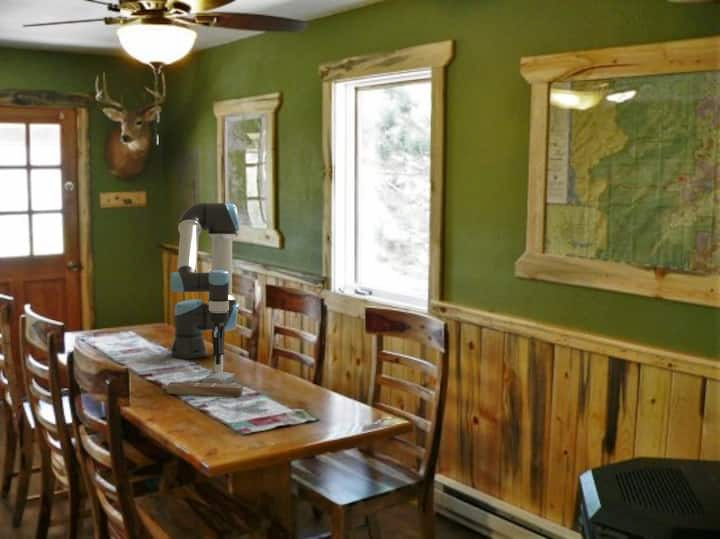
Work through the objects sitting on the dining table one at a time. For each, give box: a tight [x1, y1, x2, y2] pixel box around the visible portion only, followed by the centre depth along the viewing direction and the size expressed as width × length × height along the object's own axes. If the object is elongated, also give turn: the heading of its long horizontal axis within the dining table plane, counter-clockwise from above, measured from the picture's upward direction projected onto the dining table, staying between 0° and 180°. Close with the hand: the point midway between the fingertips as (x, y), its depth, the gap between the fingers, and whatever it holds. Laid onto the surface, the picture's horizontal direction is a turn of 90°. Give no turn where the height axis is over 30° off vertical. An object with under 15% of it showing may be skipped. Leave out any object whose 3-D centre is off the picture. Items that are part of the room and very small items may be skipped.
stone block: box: [201, 371, 236, 384], centre depth 290 cm, size 12×5×10 cm
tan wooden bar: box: [166, 381, 244, 397], centre depth 278 cm, size 4×26×3 cm, turn 88°
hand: (218, 371), depth 299 cm, fingers closed
